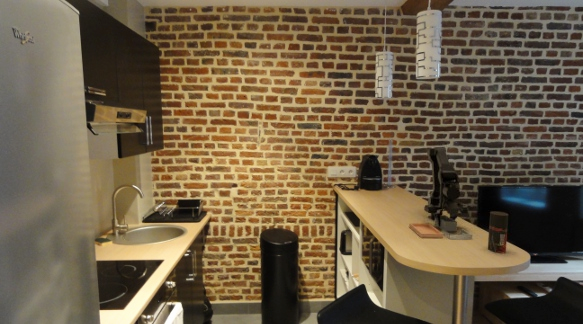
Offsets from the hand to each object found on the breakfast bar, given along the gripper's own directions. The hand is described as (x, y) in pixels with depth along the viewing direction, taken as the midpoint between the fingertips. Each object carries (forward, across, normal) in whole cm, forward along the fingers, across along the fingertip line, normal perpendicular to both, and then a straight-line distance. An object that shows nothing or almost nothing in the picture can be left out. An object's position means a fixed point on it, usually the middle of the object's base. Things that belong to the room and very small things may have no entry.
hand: (445, 226), depth 142 cm
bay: (+1, 0, -10) cm, 11 cm away
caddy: (+1, 0, 0) cm, 1 cm away
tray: (+1, -12, -6) cm, 13 cm away
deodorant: (+1, +8, -26) cm, 27 cm away
